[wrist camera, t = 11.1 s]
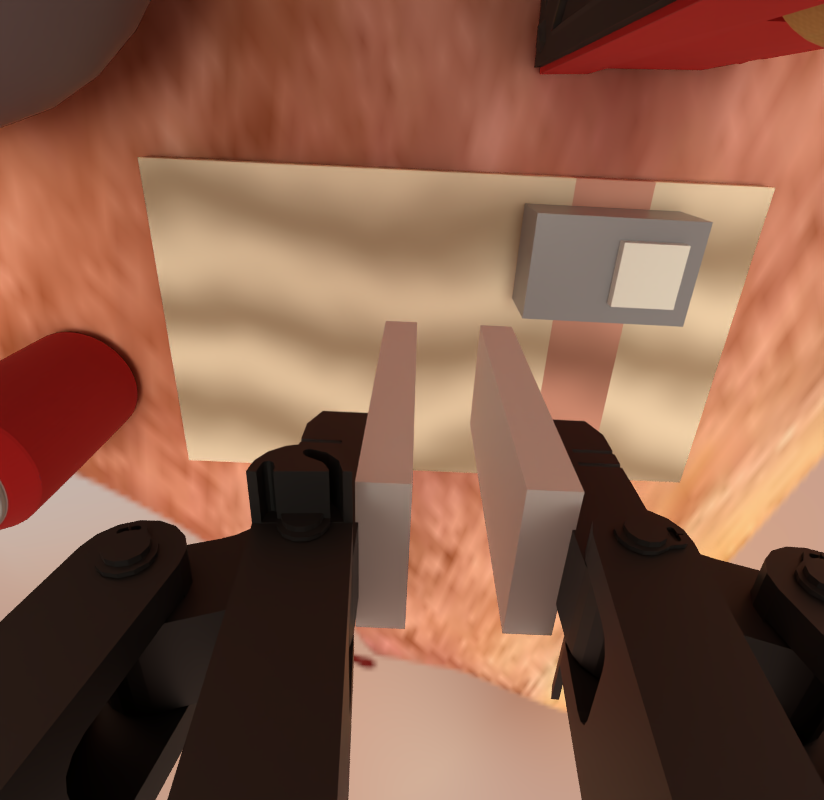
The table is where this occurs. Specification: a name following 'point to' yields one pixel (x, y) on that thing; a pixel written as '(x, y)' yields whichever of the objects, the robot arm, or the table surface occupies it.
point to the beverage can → (56, 415)
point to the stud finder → (608, 264)
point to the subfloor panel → (417, 303)
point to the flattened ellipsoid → (57, 49)
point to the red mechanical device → (672, 33)
